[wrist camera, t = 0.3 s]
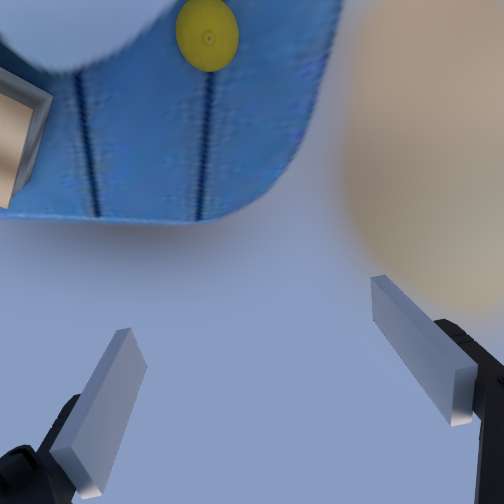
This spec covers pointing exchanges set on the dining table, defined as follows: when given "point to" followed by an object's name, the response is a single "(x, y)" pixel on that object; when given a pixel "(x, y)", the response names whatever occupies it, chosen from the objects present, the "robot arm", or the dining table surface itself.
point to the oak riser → (19, 132)
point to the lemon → (207, 34)
